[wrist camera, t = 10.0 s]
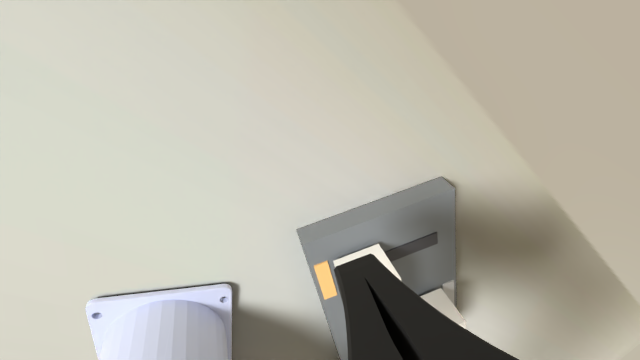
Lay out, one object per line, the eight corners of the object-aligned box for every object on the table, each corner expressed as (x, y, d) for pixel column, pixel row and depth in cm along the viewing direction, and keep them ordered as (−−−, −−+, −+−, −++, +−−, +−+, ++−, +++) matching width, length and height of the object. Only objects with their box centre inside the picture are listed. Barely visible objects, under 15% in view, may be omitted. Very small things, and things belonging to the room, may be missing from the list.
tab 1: (385, 282, 24) (406, 317, 22) (343, 298, 24) (360, 336, 22) (378, 243, 22) (401, 278, 20) (333, 260, 22) (350, 298, 20)
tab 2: (442, 317, 28) (465, 351, 26) (407, 332, 28) (427, 368, 26) (441, 288, 26) (466, 321, 24) (403, 303, 26) (424, 338, 24)
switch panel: (447, 347, 35) (457, 363, 33) (350, 389, 33) (356, 407, 32) (441, 176, 24) (455, 189, 22) (296, 229, 23) (302, 246, 21)
